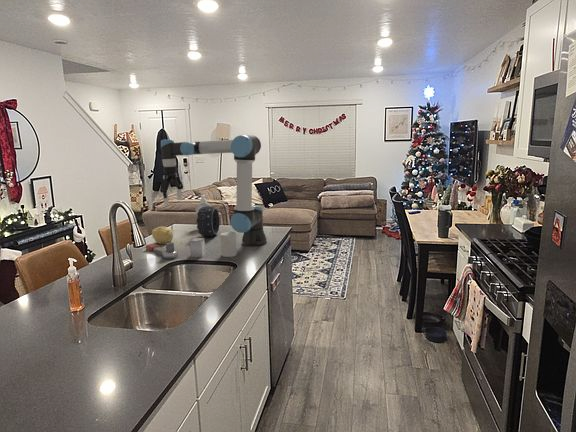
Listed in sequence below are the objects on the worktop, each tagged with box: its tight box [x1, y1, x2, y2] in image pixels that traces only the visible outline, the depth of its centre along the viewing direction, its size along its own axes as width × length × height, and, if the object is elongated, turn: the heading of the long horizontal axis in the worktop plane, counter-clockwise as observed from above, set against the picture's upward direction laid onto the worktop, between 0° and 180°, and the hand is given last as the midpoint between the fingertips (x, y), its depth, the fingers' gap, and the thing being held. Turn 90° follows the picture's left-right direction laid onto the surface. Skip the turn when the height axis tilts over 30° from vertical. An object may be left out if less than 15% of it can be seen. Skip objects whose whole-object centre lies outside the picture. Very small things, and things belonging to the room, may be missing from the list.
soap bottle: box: [195, 194, 212, 217], centre depth 281 cm, size 13×8×24 cm, turn 83°
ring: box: [195, 205, 221, 237], centre depth 257 cm, size 11×20×20 cm, turn 174°
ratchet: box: [145, 241, 179, 260], centre depth 220 cm, size 30×8×8 cm, turn 45°
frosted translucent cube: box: [189, 237, 206, 258], centre depth 214 cm, size 7×7×9 cm
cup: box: [220, 231, 238, 258], centre depth 212 cm, size 8×8×12 cm
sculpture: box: [151, 225, 174, 245], centre depth 245 cm, size 12×12×11 cm
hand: (173, 201), depth 232 cm, fingers open, 13 cm apart
